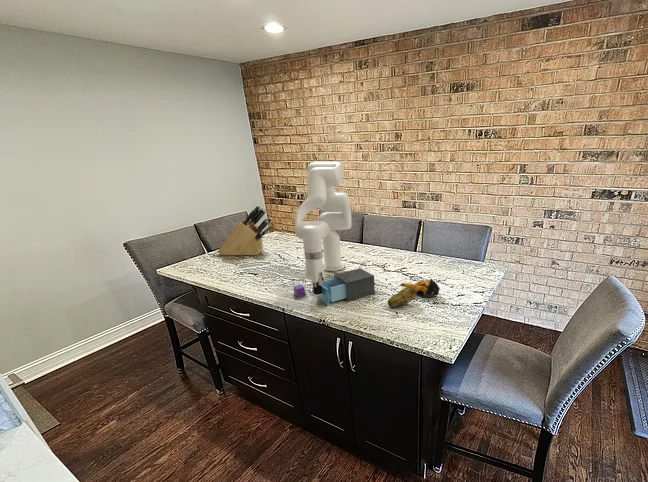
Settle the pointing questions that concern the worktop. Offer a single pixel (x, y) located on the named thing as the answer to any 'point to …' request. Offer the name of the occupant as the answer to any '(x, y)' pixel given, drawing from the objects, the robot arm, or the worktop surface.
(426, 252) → the worktop surface
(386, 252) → the worktop surface
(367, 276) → the grey drawer box
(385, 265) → the worktop surface
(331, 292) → the blue drawer
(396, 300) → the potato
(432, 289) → the fried shrimp in bowl
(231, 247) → the knife block
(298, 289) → the purple cube
